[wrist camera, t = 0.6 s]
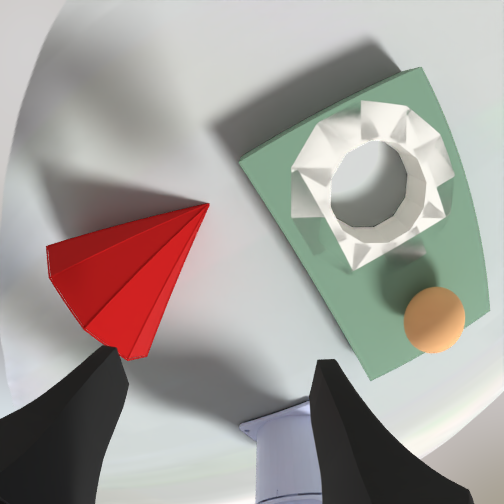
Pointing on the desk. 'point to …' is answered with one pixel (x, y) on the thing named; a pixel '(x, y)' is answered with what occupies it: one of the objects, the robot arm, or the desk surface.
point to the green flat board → (386, 233)
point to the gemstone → (124, 276)
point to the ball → (434, 319)
